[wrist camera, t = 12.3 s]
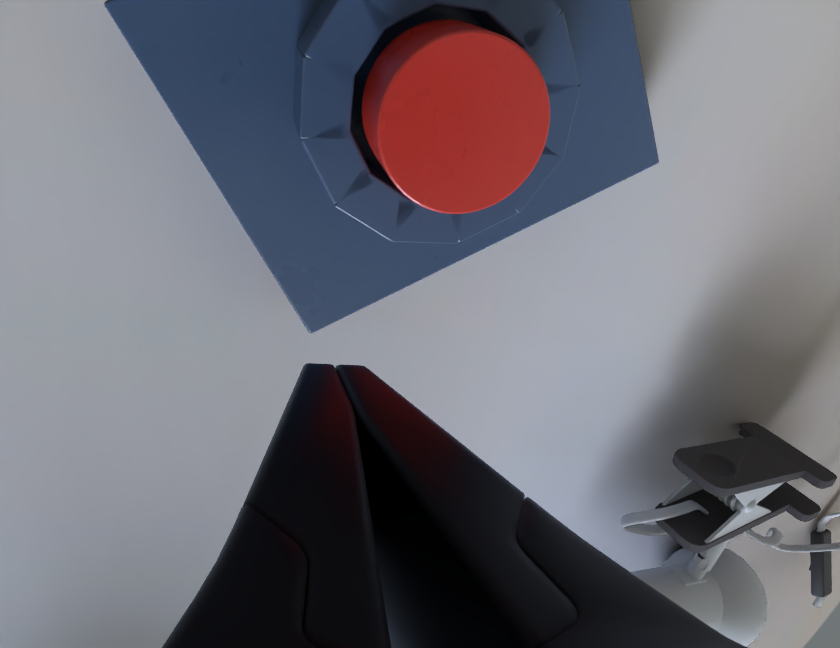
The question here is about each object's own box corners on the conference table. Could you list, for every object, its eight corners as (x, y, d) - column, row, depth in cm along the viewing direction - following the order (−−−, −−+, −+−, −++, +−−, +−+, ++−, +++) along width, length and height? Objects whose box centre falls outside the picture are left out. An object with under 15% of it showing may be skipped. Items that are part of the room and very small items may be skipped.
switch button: (399, 212, 17) (418, 242, 15) (332, 64, 15) (345, 81, 13) (536, 145, 17) (570, 168, 15) (489, -12, 15) (523, -5, 13)
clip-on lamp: (842, 423, 38) (658, 409, 27) (963, 494, 33) (796, 511, 22) (740, 577, 41) (542, 617, 31) (835, 662, 36) (640, 743, 26)
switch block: (303, 301, 22) (316, 367, 18) (116, -5, 16) (87, 10, 13) (623, 143, 22) (695, 181, 18) (547, -217, 16) (629, -257, 13)
